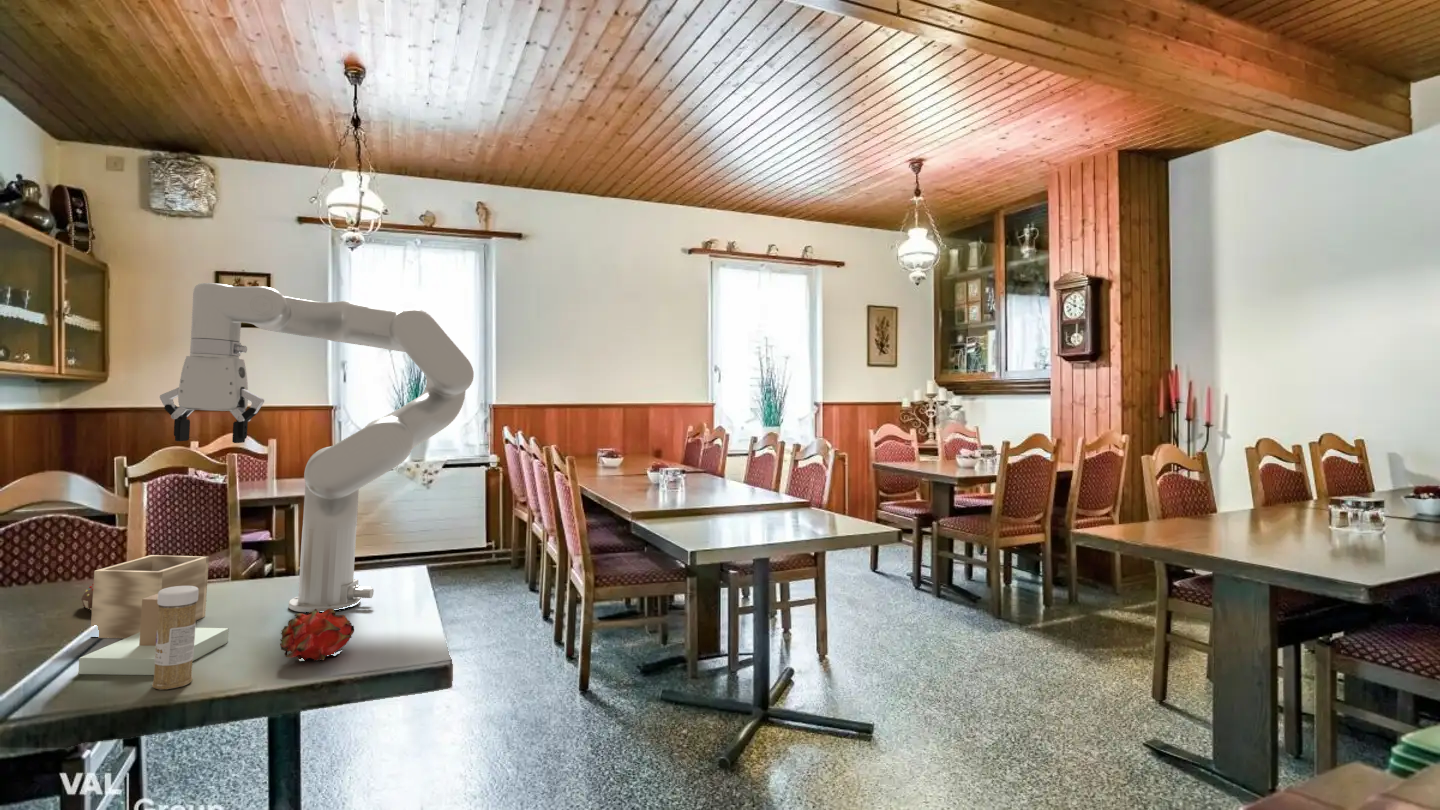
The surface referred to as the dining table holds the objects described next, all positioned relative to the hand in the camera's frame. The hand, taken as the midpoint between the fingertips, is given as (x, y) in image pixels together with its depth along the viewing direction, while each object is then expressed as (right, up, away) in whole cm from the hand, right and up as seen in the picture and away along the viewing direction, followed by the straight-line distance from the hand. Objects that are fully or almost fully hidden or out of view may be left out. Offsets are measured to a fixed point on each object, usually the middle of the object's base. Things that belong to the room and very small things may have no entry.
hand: (210, 441), depth 132 cm
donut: (-18, -32, +2) cm, 36 cm away
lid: (+8, -32, -23) cm, 40 cm away
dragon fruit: (+31, -34, -20) cm, 50 cm away
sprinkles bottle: (+18, -33, -33) cm, 50 cm away
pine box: (-4, -32, -9) cm, 33 cm away
